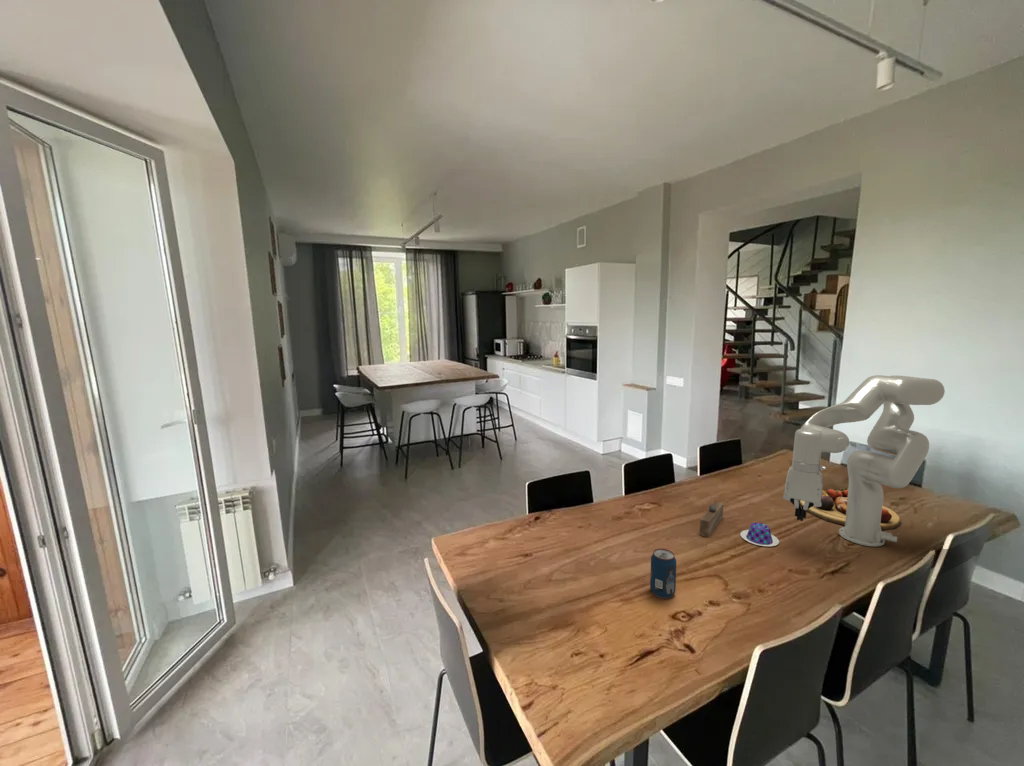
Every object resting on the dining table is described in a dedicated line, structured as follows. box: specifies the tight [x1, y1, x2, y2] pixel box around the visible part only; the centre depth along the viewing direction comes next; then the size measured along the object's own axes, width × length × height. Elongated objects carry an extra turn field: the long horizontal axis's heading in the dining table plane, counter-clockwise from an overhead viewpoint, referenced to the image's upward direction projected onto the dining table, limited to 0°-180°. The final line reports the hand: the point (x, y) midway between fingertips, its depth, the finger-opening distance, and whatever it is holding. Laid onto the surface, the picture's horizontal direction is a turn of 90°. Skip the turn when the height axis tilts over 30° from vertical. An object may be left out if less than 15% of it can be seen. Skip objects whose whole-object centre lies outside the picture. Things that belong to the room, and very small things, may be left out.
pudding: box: [740, 522, 780, 547], centre depth 152 cm, size 12×12×5 cm
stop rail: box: [699, 501, 724, 538], centre depth 162 cm, size 3×20×8 cm, turn 140°
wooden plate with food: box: [800, 487, 901, 530], centre depth 171 cm, size 32×32×8 cm
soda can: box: [649, 548, 677, 599], centre depth 123 cm, size 7×7×12 cm
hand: (800, 519), depth 143 cm, fingers closed
